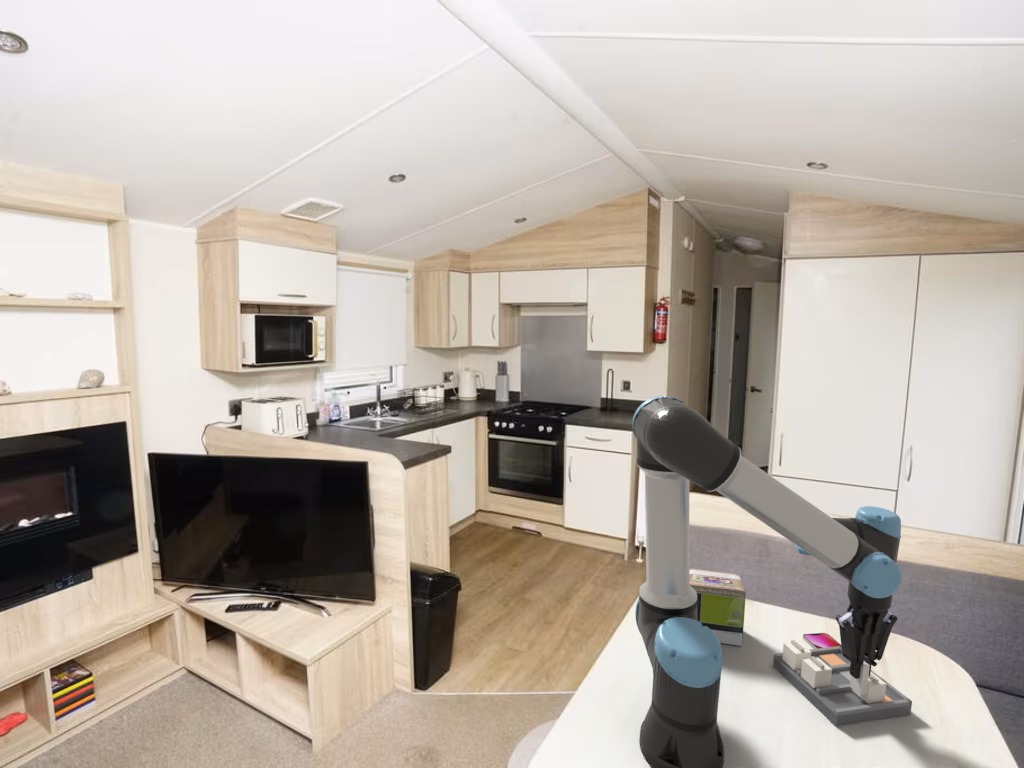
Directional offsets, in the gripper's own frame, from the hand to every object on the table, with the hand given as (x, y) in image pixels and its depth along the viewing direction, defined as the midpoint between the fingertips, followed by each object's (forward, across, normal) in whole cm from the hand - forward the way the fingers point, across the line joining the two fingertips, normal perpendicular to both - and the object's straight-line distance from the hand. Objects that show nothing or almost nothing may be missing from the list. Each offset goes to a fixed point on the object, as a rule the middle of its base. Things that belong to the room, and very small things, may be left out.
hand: (857, 690), depth 115 cm
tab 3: (+2, +3, 0) cm, 3 cm away
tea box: (+5, -15, +31) cm, 35 cm away
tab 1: (+2, -5, +12) cm, 13 cm away
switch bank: (+4, +1, +6) cm, 8 cm away
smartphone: (+5, +10, +17) cm, 21 cm away
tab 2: (+2, -5, +6) cm, 8 cm away
